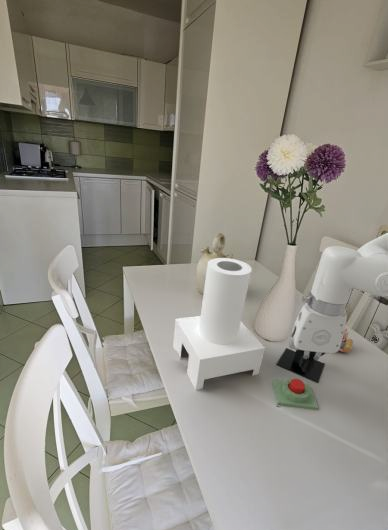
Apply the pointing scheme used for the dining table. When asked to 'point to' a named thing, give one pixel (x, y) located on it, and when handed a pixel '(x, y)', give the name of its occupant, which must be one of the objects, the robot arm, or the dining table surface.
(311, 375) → the bracket
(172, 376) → the dining table surface
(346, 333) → the flower
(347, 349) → the lever
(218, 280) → the paper towel holder
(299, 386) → the button
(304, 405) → the button block
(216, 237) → the jug
